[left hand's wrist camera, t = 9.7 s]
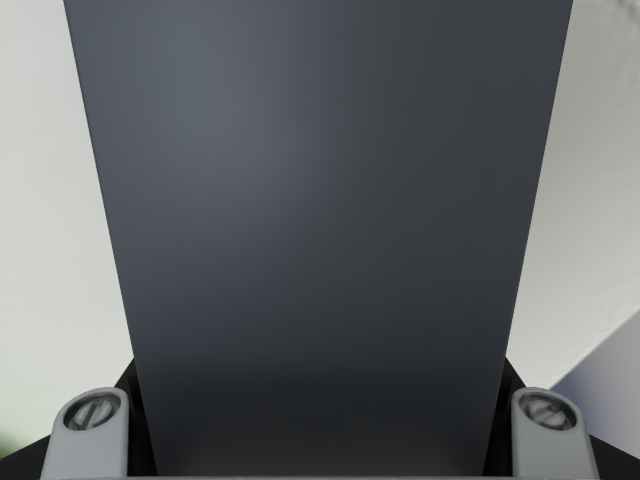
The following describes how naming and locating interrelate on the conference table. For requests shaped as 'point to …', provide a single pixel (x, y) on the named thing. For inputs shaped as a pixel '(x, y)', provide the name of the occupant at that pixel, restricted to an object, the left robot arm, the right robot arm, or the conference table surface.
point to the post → (319, 220)
